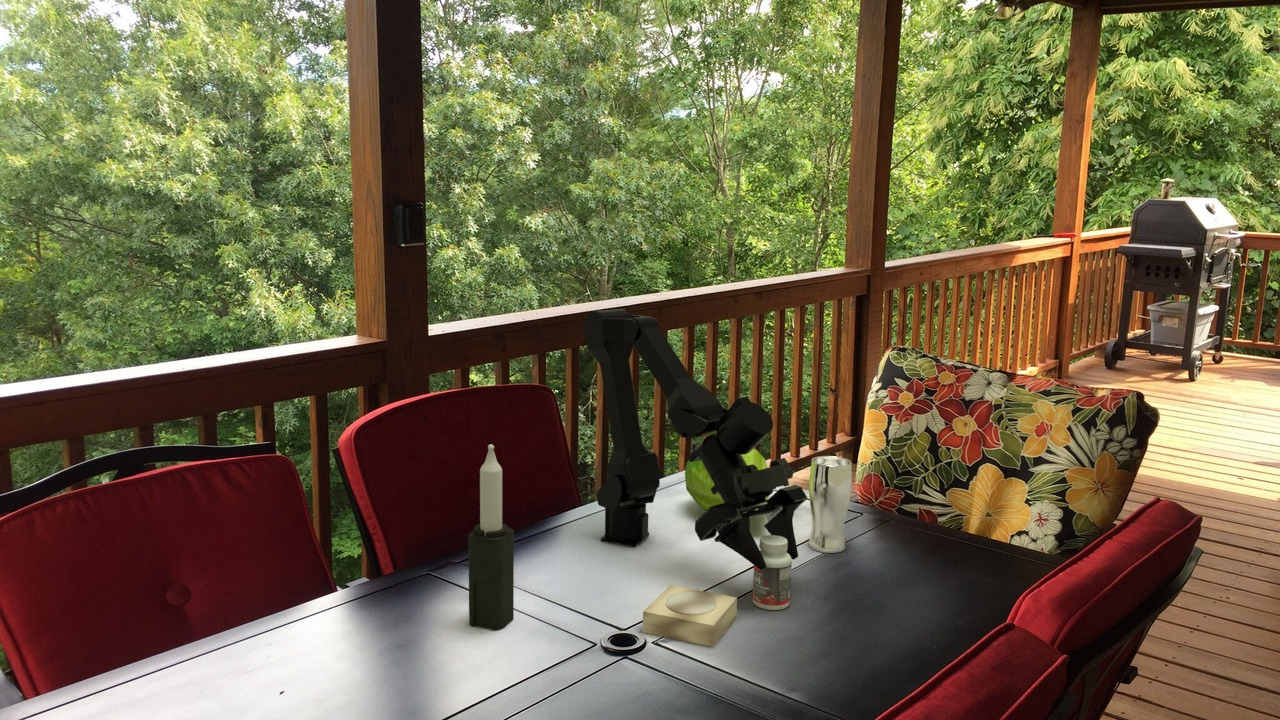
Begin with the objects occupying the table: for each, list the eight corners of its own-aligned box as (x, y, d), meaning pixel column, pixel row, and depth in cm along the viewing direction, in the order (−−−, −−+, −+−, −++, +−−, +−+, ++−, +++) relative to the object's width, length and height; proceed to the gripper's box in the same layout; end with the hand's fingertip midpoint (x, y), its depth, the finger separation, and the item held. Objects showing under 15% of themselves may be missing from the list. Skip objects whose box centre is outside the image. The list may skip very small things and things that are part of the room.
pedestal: (642, 632, 134) (643, 609, 134) (669, 604, 144) (670, 583, 143) (712, 646, 131) (713, 623, 130) (736, 617, 140) (737, 595, 139)
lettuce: (799, 542, 177) (720, 562, 172) (745, 481, 196) (673, 497, 192) (802, 471, 171) (721, 489, 166) (746, 415, 190) (671, 430, 186)
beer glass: (845, 540, 172) (850, 456, 169) (849, 555, 165) (855, 467, 162) (804, 538, 172) (809, 454, 170) (807, 553, 165) (811, 465, 163)
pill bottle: (744, 603, 144) (747, 539, 143) (765, 593, 149) (768, 530, 147) (776, 614, 141) (779, 548, 139) (796, 603, 145) (799, 539, 143)
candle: (516, 616, 138) (516, 441, 134) (499, 631, 134) (499, 450, 129) (483, 611, 140) (483, 438, 136) (465, 625, 135) (464, 446, 131)
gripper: (711, 451, 138) (766, 550, 131) (801, 433, 150) (855, 523, 143) (671, 492, 145) (722, 588, 139) (760, 471, 157) (810, 559, 151)
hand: (780, 563), depth 143 cm, fingers open, 6 cm apart
